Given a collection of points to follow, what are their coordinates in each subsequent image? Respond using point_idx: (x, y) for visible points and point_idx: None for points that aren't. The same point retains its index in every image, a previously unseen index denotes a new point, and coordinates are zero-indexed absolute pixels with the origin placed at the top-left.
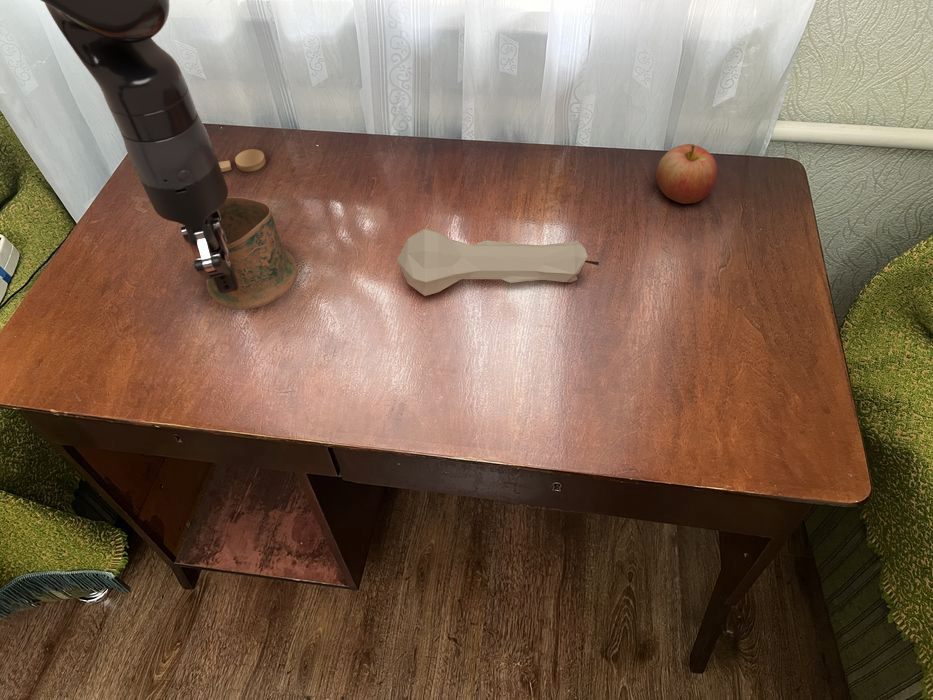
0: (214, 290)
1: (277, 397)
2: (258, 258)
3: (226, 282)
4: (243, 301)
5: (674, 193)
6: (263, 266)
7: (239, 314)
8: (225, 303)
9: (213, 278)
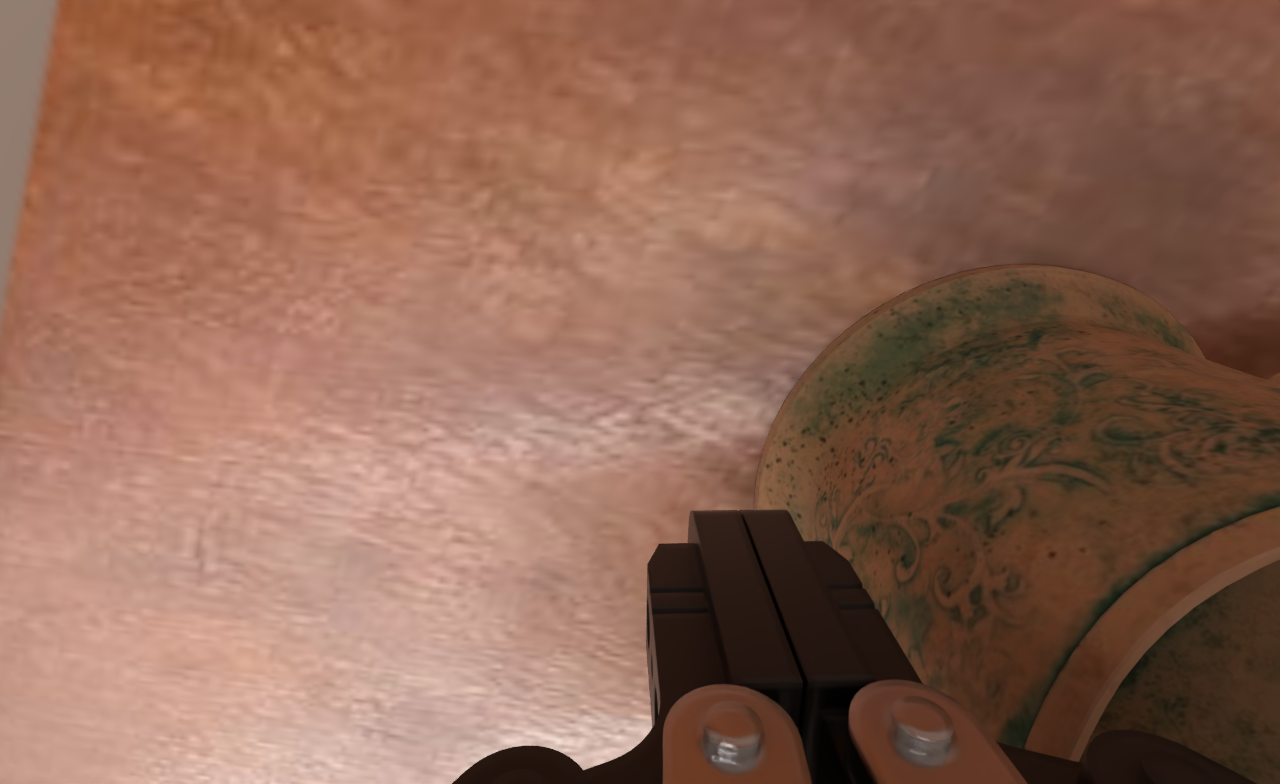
0: (943, 322)
1: (172, 515)
2: None
3: (652, 671)
4: (791, 458)
5: None
6: None
7: (743, 406)
8: (833, 359)
9: (715, 608)
